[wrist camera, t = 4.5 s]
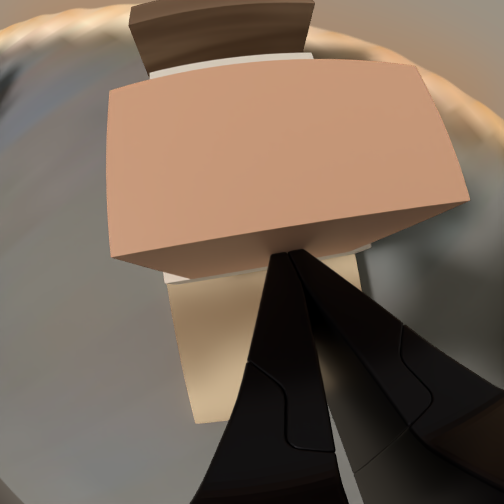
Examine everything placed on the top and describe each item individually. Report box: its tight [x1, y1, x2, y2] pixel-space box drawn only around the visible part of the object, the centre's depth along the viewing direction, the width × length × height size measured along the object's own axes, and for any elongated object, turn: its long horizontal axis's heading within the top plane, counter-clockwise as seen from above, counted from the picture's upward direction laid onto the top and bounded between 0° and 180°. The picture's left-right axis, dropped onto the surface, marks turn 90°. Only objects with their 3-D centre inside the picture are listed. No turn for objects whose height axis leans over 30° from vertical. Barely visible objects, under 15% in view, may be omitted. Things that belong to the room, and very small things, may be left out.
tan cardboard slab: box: [129, 0, 362, 424], centre depth 14 cm, size 23×10×6 cm, turn 10°
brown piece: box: [106, 53, 470, 285], centre depth 10 cm, size 10×8×11 cm
